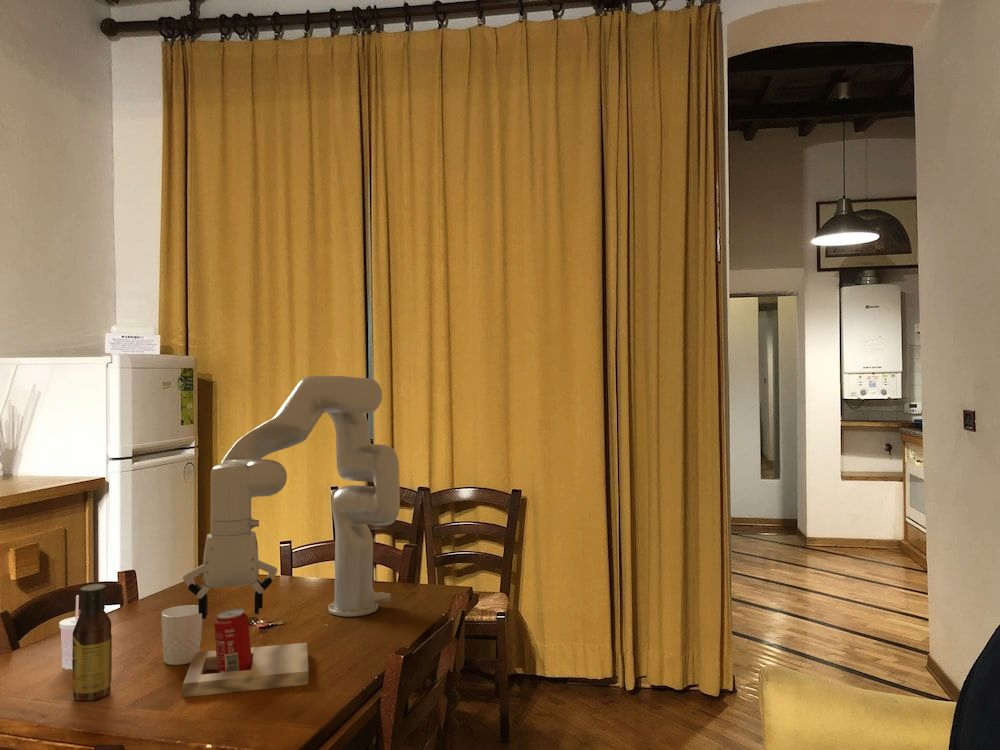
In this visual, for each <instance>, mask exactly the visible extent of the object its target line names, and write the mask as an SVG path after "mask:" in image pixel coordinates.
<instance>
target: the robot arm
mask: <svg viewBox="0 0 1000 750" xmlns="http://www.w3.org/2000/svg"><path fill="white" fill-rule="evenodd" d="M382 400H383V392H382V388H381V385H380V384H379V382H378V381H376V380H375V379H373V378H368V377H367V378H366V377H354V376H345V375H311V376H310V375H309V376H307V377H304V378H302V379H300V381H299V382H298V383H297V385H296V386H295V387H294V388H293V390H292V391H291V393H289V396H288V397H287V399H286V400H285V401H284V402H283V404H282V406H281V407H280V408H279V409H278V410H277V413H276V414H275V415H274V416H273V417H272V418H271V419H269V420H267V421H265V422H263V423H262V424H260V425H258V426H257V427H255V428H253V429H252V430H250V431H248V432H247V433H246V434H245V435H243V436H241V437H240V438H239V439H238V440H237V441H236V442H235V443H234V444H233V445H232V447H231V448H230V449H229V450H228V452H227V453H226V454H225V456H223V458H222V460H221V462H220V464H217V465H215V466H213V467H212V468H211V470H210V525H209V527H210V533H207V534H206V537H205V544H204V545H205V546H204V551H203V562H202V564H201V565H199V566H198V567H196V568H194V569H192V570H190V571H188V572H186V573H184V574H183V577H182V579H183V582H184V584H186V586H187V588H188V590H189V591H190V592H191V593H193V594H194V595H195V596H196V598H197V599H198V604H197V606H198V612H199V614H201V613H202V620H205V619H207V616H208V614H209V612H208V609H209V607H208V604H209V603H208V602H209V600H208V598H209V596H208V594H207V593H208V592H209V590H210V589H218V588H230V587H231V588H232V587H243V586H249V585H250V586H251V587H252V589H254V614H255V615H259V614H260V613H259V612H260V609H263V608H264V607H263V605H264V603H263V601H264V596H263V595H264V594H263V593H264V591H265V590H266V589H267V588H268V587H269V586H270V585H271V584H272V582H273V580H274V578H275V577H276V575H277V573H278V568H277V567H276V566H275V565H271V564H269V563H267V562H264V561H262V560H259V546H258V540H257V539H258V538H257V534H256V531H255V530H252V529H253V528H258V527H260V520H259V519H255V518H253V517H252V498H257V497H271V496H274V495H276V494H278V493H279V492H280V491H282V490H283V488H284V487H285V485H286V483H287V479H288V474H287V471H286V468H285V467H284V465H283V464H282V463H281V462H279V461H277V460H273V459H266V458H265V457H267V456H268V455H271V454H274V453H276V452H278V451H282V450H285V449H289V448H291V447H294V446H296V445H299V444H302V443H304V442H305V441H306V440H307V439H308V437H309V435H310V434H311V433H312V431H313V429H314V427H316V424H317V423H318V422H319V421H320V418H321V417H322V416H323V415H324V414H325V413H326V414H327V415H328V416H329V417H330V419H331V420H332V423H333V425H334V430H335V450H336V451H335V452H336V455H335V456H336V467H337V468H336V469H337V474H338V476H339V477H340V478H342V480H343V479H344V480H346V481H352V482H366V483H367V482H368V483H369V482H370V483H373V484H374V486H370V485H360V484H359V485H358V484H357V485H354V484H352V485H351V484H349V485H344V486H342V487H339V488H338V489H337V490H336V491H335V493H334V494H333V496H332V499H331V513H332V518H333V524H334V534H335V535H334V536H335V537H334V538H335V540H334V542H335V543H334V546H335V548H334V553H335V554H334V601H333V602H331V603H329V604H328V605H327V606H328V607H327V611H328V612H329V614H331V615H333V616H334V615H335V616H337V617H347V618H348V617H361V616H366V615H370V614H373V613H374V612H377V611H378V609H379V602H391V599H392V598H391V597H392V595H391V592H390V593H389V592H388V593H387V592H386V593H385V592H384V591H380V592H376V591H375V590H374V587H373V576H374V575H373V568H374V567H373V563H374V561H373V559H374V558H373V557H374V553H373V552H374V539H373V535H372V532H371V529H370V528H369V526H368V525H374V526H389V525H392V524H394V522H396V520H397V519H398V516H399V513H400V509H401V508H400V507H401V506H400V505H401V504H400V503H401V498H400V494H401V493H400V490H401V489H400V463H399V458H398V455H397V451H396V450H394V448H393V447H392V446H390V445H387V444H377V443H376V444H375V443H374V444H373V443H372V442H371V438H370V437H371V436H370V435H371V434H370V424H369V420H368V418H367V416H366V414H372V413H374V412H375V411H376V410H377V409H378V408H380V406H381V403H382ZM264 458H265V459H264ZM260 570H262V571H263V572H266V573H268V574H267V576H266V577H265V579H264V580H263V581H261V579H259V578H258V577H259V573H260ZM201 574H202V582H203V583H202V585H201V587H200V585H199V584H197V583H196V582H195V581H194V578H195V577H197V576H199V575H201Z"/></svg>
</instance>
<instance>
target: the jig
mask: <svg viewBox="0 0 1000 750" xmlns="http://www.w3.org/2000/svg"><path fill="white" fill-rule="evenodd" d="M308 654H309V653H308V642H300V643H299V642H296V643H287V644H286V643H285V644H277V645H265V646H262V645H261V646H254V647H253V646H251V658H252V667H251V668H250V670H244V671H234V672H223V673H218V672H217V673H216V672H215V673H206V671H209V670H218V669H217V656H216V650H207V651H199V652H195V653H194V656H193V659H192V661H191V662H190V663H189V666H188V670H187V672H186V675H185V678H184V680H183V682H182V698H191V697H200V696H210V695H218V694H219V695H220V694H228V693H239V692H247V691H249V692H250V691H257V690H258V691H259V690H267V689H277V688H288V687H297V686H306V685H308V686H309V655H308Z"/></svg>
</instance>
